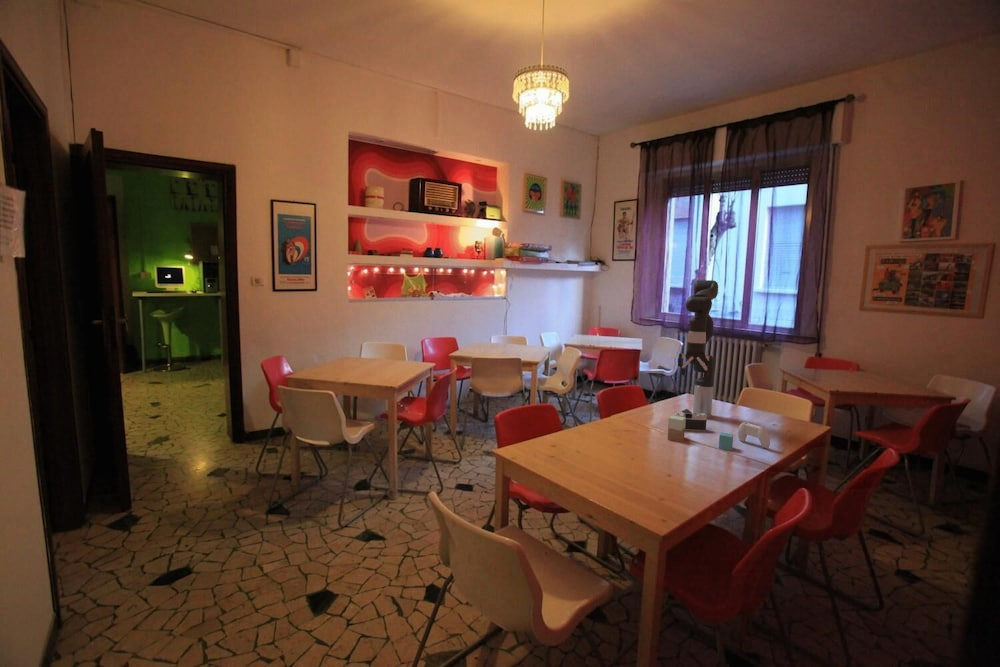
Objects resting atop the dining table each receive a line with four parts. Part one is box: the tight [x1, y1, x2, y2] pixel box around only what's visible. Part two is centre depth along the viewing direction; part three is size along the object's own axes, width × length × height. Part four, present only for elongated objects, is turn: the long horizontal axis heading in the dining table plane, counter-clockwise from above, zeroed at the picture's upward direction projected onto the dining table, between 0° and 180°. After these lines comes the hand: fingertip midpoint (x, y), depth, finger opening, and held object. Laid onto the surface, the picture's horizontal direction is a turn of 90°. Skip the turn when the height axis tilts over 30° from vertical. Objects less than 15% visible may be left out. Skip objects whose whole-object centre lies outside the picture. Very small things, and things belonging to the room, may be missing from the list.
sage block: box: [667, 414, 686, 431], centre depth 217 cm, size 6×6×5 cm
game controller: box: [737, 421, 771, 450], centre depth 211 cm, size 14×4×10 cm, turn 31°
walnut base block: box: [667, 428, 686, 443], centre depth 218 cm, size 7×7×5 cm
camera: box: [673, 408, 708, 432], centre depth 234 cm, size 16×9×10 cm, turn 84°
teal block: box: [718, 432, 734, 452], centre depth 206 cm, size 5×5×6 cm
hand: (694, 377), depth 212 cm, fingers open, 8 cm apart
